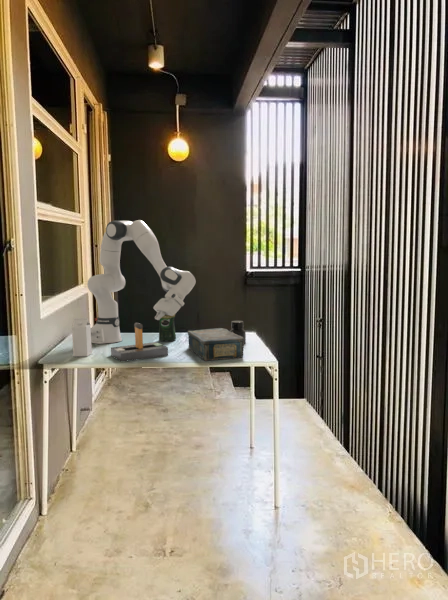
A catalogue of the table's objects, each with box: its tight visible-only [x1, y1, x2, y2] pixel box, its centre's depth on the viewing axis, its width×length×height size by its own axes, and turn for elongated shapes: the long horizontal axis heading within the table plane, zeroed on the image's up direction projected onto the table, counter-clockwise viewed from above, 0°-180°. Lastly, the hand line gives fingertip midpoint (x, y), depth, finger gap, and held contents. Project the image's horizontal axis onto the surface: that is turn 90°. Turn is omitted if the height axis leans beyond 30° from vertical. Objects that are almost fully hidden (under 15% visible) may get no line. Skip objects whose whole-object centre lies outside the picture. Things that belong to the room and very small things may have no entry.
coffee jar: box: [158, 314, 177, 342], centre depth 274 cm, size 10×8×19 cm
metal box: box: [187, 327, 245, 362], centre depth 241 cm, size 21×32×10 cm, turn 18°
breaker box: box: [110, 341, 169, 362], centre depth 237 cm, size 24×16×4 cm, turn 121°
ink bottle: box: [229, 320, 247, 344], centre depth 264 cm, size 10×9×12 cm
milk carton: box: [71, 317, 93, 357], centre depth 239 cm, size 7×7×19 cm
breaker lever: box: [133, 322, 144, 349], centre depth 236 cm, size 3×6×12 cm, turn 31°
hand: (156, 319), depth 240 cm, fingers closed
